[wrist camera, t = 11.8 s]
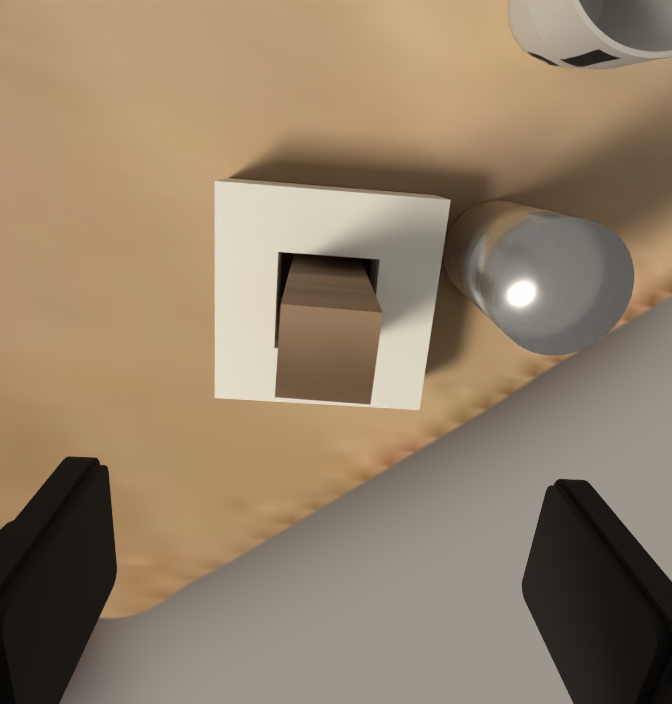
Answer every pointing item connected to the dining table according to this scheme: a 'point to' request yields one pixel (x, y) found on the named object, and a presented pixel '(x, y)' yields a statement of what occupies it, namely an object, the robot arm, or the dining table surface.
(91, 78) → the dining table surface
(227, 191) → the bore block
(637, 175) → the dining table surface
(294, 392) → the walnut peg
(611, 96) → the dining table surface
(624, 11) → the cup
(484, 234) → the grey cylinder
